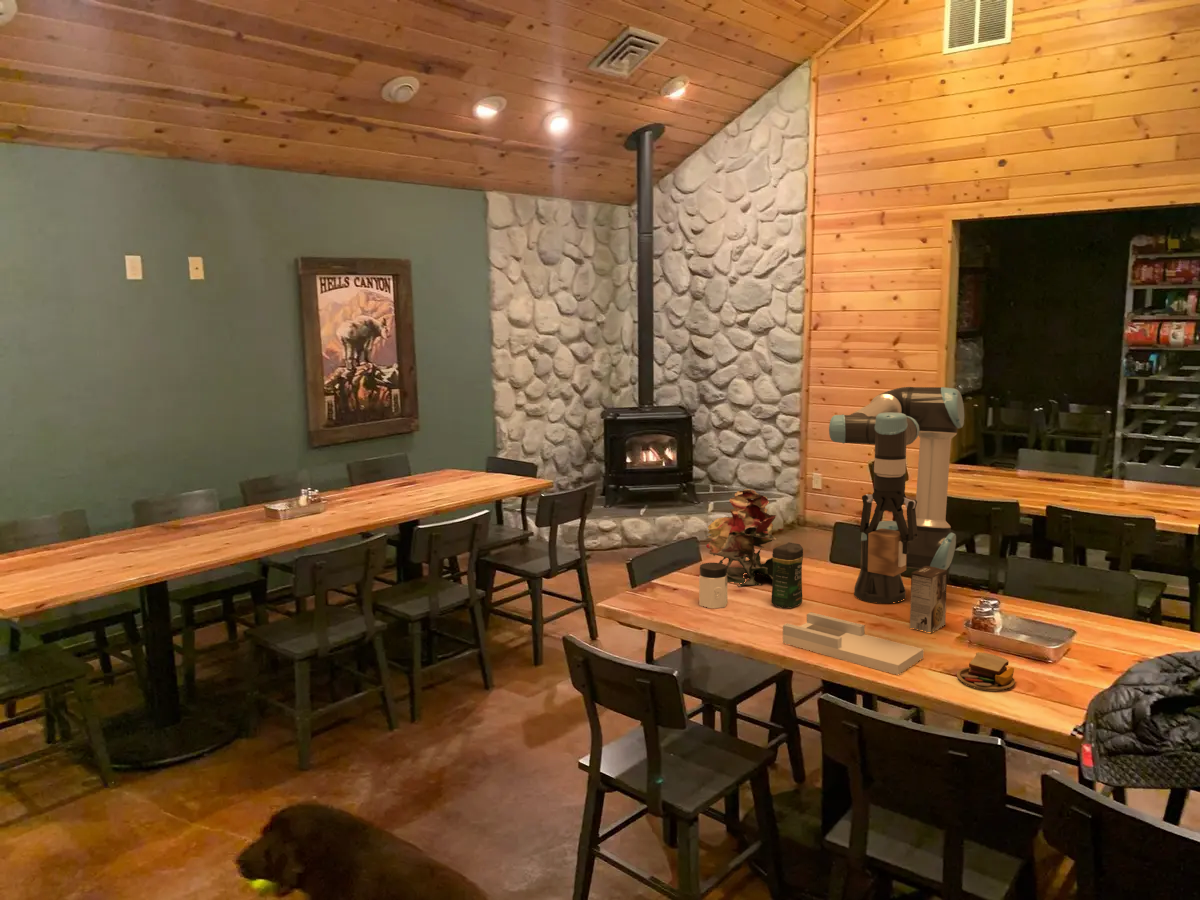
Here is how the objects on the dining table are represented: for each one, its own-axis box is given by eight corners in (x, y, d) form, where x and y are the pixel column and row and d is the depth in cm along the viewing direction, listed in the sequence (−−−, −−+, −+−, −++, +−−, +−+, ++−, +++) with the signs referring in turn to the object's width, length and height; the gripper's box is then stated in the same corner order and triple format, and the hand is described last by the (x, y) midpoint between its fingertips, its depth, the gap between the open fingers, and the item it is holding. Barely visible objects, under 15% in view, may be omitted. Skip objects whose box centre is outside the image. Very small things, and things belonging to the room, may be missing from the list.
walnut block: (906, 570, 221) (907, 532, 219) (893, 576, 216) (894, 537, 214) (880, 565, 226) (881, 528, 224) (867, 571, 221) (868, 533, 219)
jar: (703, 609, 257) (703, 570, 256) (694, 601, 265) (694, 563, 264) (732, 607, 259) (732, 568, 258) (722, 599, 267) (722, 561, 266)
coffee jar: (791, 610, 255) (791, 549, 252) (767, 605, 260) (767, 545, 257) (806, 602, 262) (807, 543, 260) (783, 597, 267) (784, 539, 265)
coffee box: (923, 620, 244) (925, 565, 242) (946, 625, 240) (948, 569, 238) (908, 628, 238) (910, 572, 236) (931, 634, 234) (933, 576, 231)
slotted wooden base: (923, 658, 217) (923, 639, 216) (898, 675, 207) (898, 655, 206) (810, 629, 239) (810, 612, 238) (782, 643, 229) (782, 625, 228)
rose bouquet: (770, 563, 306) (770, 480, 302) (795, 588, 277) (796, 496, 273) (698, 566, 304) (698, 482, 300) (716, 591, 275) (716, 499, 271)
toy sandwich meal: (946, 681, 204) (946, 662, 203) (974, 666, 212) (975, 647, 211) (998, 698, 194) (999, 678, 193) (1026, 681, 203) (1027, 662, 202)
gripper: (935, 476, 213) (932, 566, 216) (860, 468, 227) (858, 553, 230) (921, 480, 208) (919, 573, 211) (846, 472, 221) (844, 559, 225)
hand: (887, 563), depth 220 cm, fingers closed on walnut block, 7 cm apart
